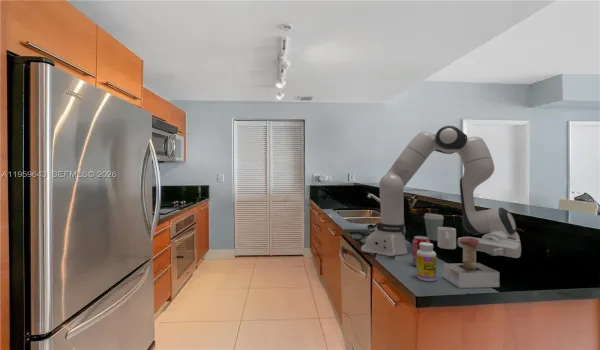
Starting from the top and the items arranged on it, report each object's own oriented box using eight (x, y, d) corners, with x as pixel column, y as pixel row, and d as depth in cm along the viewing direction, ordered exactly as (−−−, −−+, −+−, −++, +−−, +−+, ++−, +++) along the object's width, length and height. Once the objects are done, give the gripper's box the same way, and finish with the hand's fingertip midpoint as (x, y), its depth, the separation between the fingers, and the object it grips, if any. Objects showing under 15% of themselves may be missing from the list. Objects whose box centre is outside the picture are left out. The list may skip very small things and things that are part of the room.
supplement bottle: (422, 282, 98) (421, 246, 98) (413, 275, 105) (413, 241, 105) (440, 281, 99) (439, 245, 99) (430, 275, 105) (429, 241, 106)
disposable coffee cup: (437, 237, 168) (437, 212, 168) (448, 241, 158) (447, 215, 158) (420, 237, 168) (420, 213, 168) (430, 241, 157) (430, 215, 157)
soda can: (433, 265, 116) (433, 237, 116) (427, 269, 111) (426, 240, 111) (416, 262, 121) (416, 234, 121) (409, 265, 116) (409, 237, 116)
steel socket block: (459, 288, 93) (459, 273, 93) (442, 277, 103) (442, 263, 103) (499, 286, 94) (499, 272, 94) (479, 276, 104) (479, 262, 104)
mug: (437, 244, 151) (437, 226, 151) (455, 245, 148) (455, 227, 148) (438, 250, 140) (438, 230, 140) (458, 251, 137) (457, 231, 137)
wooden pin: (461, 280, 97) (461, 240, 97) (459, 274, 102) (459, 237, 102) (480, 283, 95) (479, 242, 94) (477, 277, 100) (477, 238, 100)
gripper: (466, 231, 119) (449, 236, 111) (525, 240, 102) (510, 246, 94) (466, 246, 119) (450, 251, 111) (525, 257, 102) (510, 265, 94)
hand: (478, 249), depth 102 cm, fingers open, 8 cm apart
